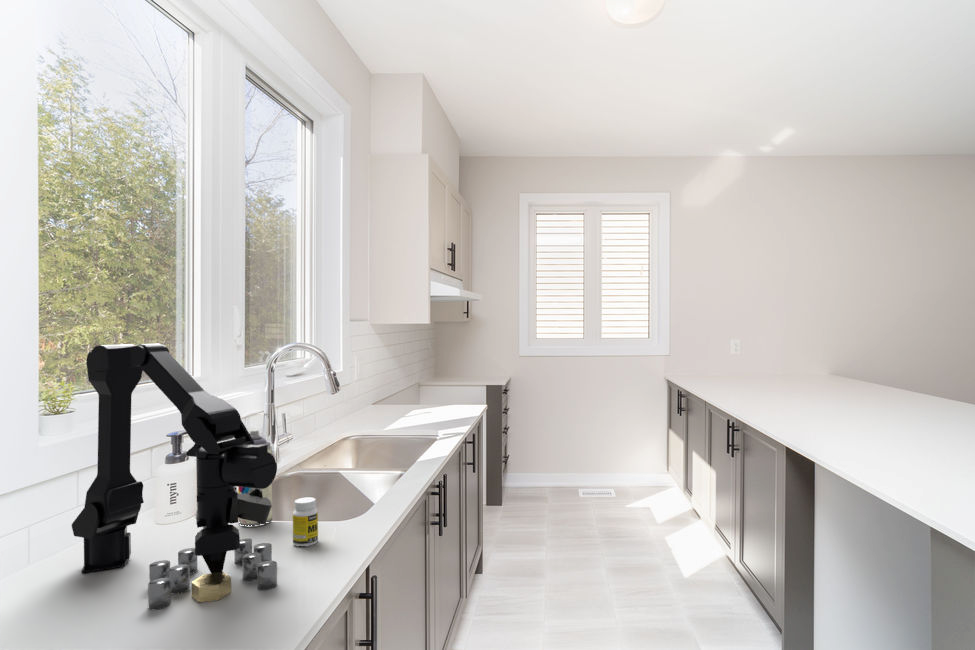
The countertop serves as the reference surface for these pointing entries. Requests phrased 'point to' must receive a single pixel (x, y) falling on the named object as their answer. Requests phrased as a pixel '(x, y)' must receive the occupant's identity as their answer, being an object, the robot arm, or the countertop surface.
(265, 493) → the aerosol can
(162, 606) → the spacers
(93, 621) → the countertop surface
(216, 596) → the wooden star-faceted hexagon
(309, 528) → the supplement bottle
